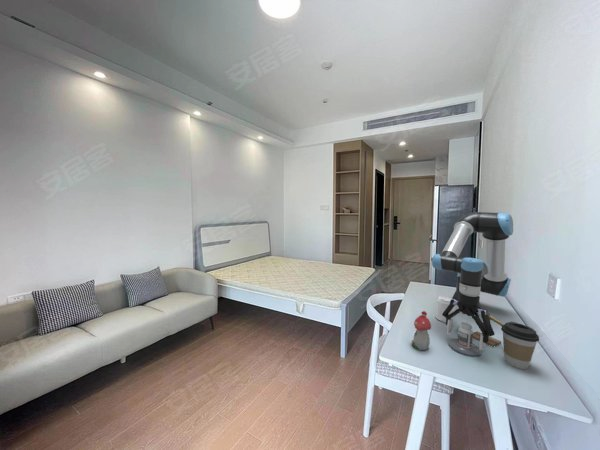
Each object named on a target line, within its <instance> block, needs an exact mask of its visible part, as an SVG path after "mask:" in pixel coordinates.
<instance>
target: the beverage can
mask: <svg viewBox="0 0 600 450" xmlns="http://www.w3.org/2000/svg"><path fill="white" fill-rule="evenodd" d="M451 300H452V297H451V298H450V297H447V296H438V298H437V299H436V309H435V318H436V319H437V320H439V321H440V322H442V323H446V317H444V316H442V314H443V312H444V311H445V310H446V308H447V307H448V306H449V304H450V301H451ZM454 311H455V306H454V307H453V309H452V310H451V311H450V312H449V314H451V313H452V312H454ZM449 314H448V315H449ZM451 319H453V320H454V317H452V318H451Z"/></svg>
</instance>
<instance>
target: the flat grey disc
mask: <svg viewBox="0 0 600 450" xmlns="http://www.w3.org/2000/svg"><path fill="white" fill-rule="evenodd" d="M457 339H458V337H457V338H456V337H455V338H449V339H448V342H447V346H448V347H449V348H450V349H451V350H452V351H454V352H456V353H458V354H460V355H463V356H467V357H474V358H477V357H479V355H480V354H482V350H480V349H479V346H478V345H477V344H476V343H473V342H472V348H470V349H467V348H463V347H461V346H459V345H458V344H457ZM476 356H477V357H476ZM480 356H481V355H480Z"/></svg>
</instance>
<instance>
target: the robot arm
mask: <svg viewBox="0 0 600 450" xmlns="http://www.w3.org/2000/svg"><path fill="white" fill-rule="evenodd" d="M473 233H480V234H482V238H483V239H485V261H484V260H482V259H480V258H474V257H460V255H461V253H462V251H463V249H464V247H465V244H466V243H467V240H468V238H469V237H470V236H471V235H472V234H473ZM513 234H514V221H513V217H512V215H511V214H510V213H505V212H487V211H486V212H485V211H484V212H483V211H482V212H480V211H473V212H470V213H467V214H465V215H463V216H462V217H460V218H458V220H456V222H455V224H454V225H453V231H452V233H451V235H450V237H449V239H448V240H447V242H446V244H445V246H444V248H443V250H442V251H441V253H436V254H434V255H432V259H431V265H432V267H433V268H434V269H437V270H440V271H446V272H451V273H455V274H457V275H456V285H455V286H456V289H455V291H454V293H453V296H452V297H451V299H452V300H451V301H450V304H449V306H448V307H447V308H446V310H445V311H444V312H443V314H442V316H444V317H446V322H445V326H447V327H446V334H447V335H450V334H452V333H453V332H452V331H453V324H454V317H455V316H457V315H458V314H460V313H461V314H462V315H466V316H468V317H471V319H472V320H473V321H474V322H475V324H476V325H477V327H478V329H479V331H480V332H481V333H483V334H481V335H480V341H479V346H478V347H479V349H480V350H481V351H482V350H485V348H486V344H485V343H487V342H488V336H490V337H493V336H495V331H494V328H493V327H492V323H491V320H490V321H489V318H488V316H487V313H488V310H487V309H480V307H481V302H480V298H481V297H480V295H481V293H485V294H490V295H494V296H496V297H504V298H505V297H507V295H508V291H509V288H510V284H511V278H510V277H508V274H507V273H506V271H505V264H506V263H505V260H506V259H505V258H506V240H508V239H509V237H510V236H512V235H513ZM456 305H457V307H458V308H457V309H454V312H452V313H451V314H449V312H450V311H451V310H452V309H453V307H454V308H455V306H456ZM448 314H449V315H448ZM452 317H453V319H451V318H452ZM480 317H481V318H480ZM483 323H484V324H483Z"/></svg>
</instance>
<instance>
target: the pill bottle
mask: <svg viewBox="0 0 600 450" xmlns="http://www.w3.org/2000/svg"><path fill="white" fill-rule="evenodd" d="M473 332H474V331H473V328H472V324H471V323H468V322H464V321H462V322H460V326H459V327H458V331H457V338H458V339H457V344H458V345H459V346H461V347H463V348H467V349H470V348H472V343H473V339H474V338H473Z"/></svg>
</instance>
